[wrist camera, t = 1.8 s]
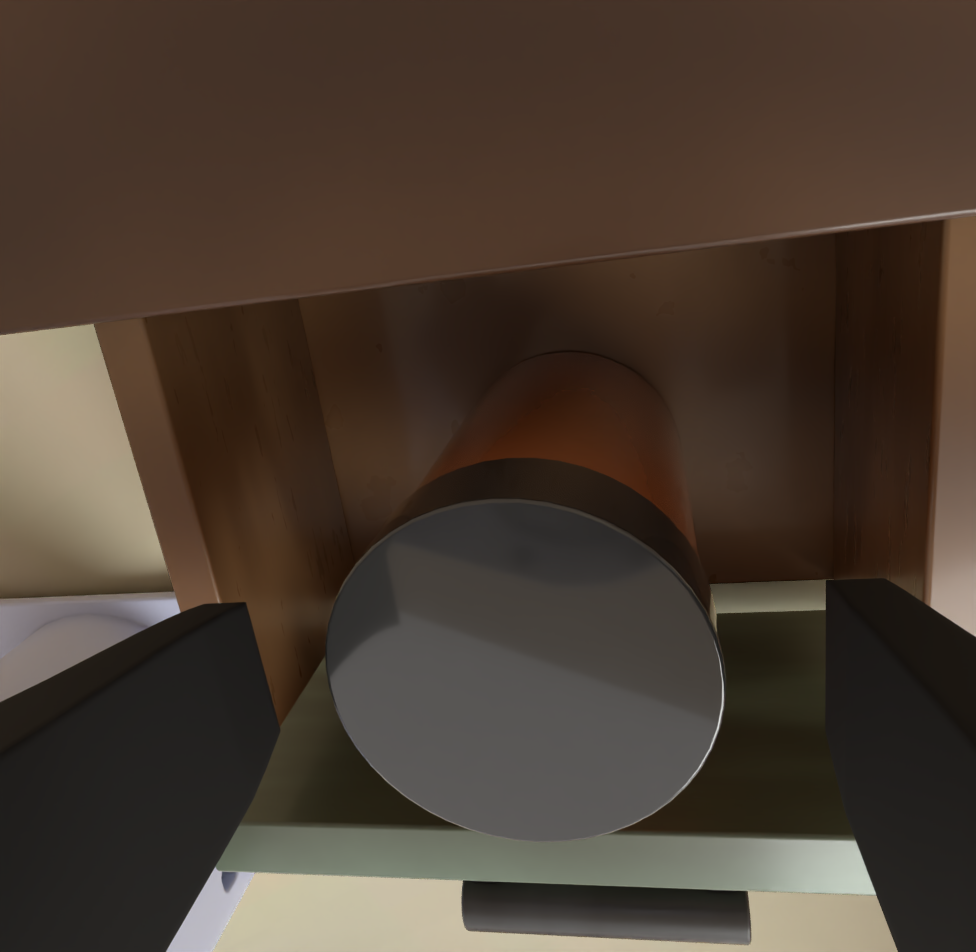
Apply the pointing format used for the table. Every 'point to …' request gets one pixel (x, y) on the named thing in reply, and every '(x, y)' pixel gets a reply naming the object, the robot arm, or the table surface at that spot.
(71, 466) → the table surface
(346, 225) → the cabinet
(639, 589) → the spice jar
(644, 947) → the table surface
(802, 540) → the drawer
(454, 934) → the table surface
